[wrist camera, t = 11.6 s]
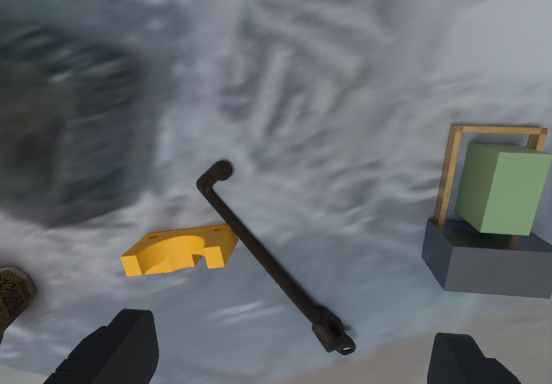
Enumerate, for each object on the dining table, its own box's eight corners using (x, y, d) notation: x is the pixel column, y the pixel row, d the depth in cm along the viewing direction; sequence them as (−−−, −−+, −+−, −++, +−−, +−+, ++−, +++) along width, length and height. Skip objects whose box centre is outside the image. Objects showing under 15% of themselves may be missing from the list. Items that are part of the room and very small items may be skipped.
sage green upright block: (468, 142, 34) (499, 152, 29) (512, 143, 34) (553, 154, 28) (454, 210, 37) (480, 232, 31) (495, 213, 36) (528, 235, 31)
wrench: (230, 153, 40) (373, 327, 42) (203, 177, 41) (342, 342, 44) (214, 160, 35) (376, 357, 38) (184, 187, 36) (341, 373, 39)
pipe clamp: (157, 261, 44) (131, 289, 37) (148, 233, 42) (120, 256, 36) (240, 252, 42) (228, 280, 36) (233, 222, 40) (219, 246, 34)
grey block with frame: (444, 124, 34) (476, 132, 27) (544, 127, 33) (603, 135, 26) (421, 256, 39) (444, 290, 32) (508, 262, 38) (549, 298, 31)
